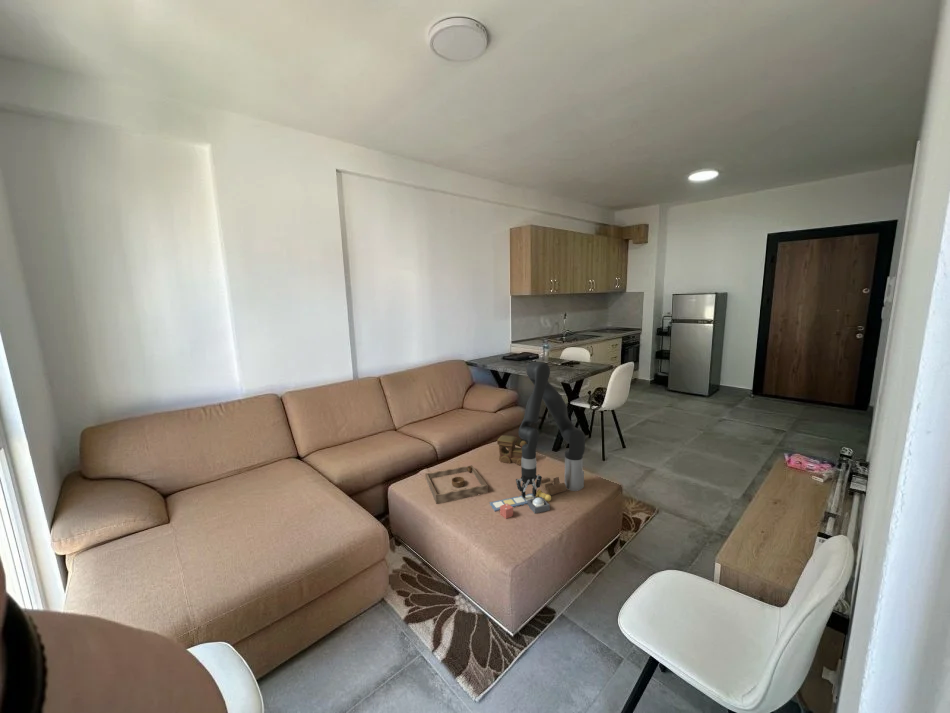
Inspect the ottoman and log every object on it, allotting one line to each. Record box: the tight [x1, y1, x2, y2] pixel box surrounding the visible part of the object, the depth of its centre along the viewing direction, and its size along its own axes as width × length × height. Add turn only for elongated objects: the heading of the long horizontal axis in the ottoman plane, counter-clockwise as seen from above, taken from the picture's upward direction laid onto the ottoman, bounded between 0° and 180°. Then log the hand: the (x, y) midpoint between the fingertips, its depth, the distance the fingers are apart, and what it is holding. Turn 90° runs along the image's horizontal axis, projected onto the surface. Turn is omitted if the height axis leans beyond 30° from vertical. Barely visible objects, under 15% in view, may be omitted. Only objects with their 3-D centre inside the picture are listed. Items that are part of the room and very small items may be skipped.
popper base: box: [527, 497, 551, 514], centre depth 185 cm, size 8×8×3 cm
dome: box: [533, 498, 544, 507], centre depth 185 cm, size 6×6×5 cm
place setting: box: [451, 465, 472, 491], centre depth 210 cm, size 18×20×6 cm
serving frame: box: [424, 465, 489, 505], centre depth 207 cm, size 28×26×5 cm
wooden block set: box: [540, 476, 568, 496], centre depth 201 cm, size 18×9×10 cm
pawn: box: [535, 489, 552, 502], centre depth 192 cm, size 4×4×7 cm
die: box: [499, 504, 514, 520], centre depth 180 cm, size 4×4×4 cm
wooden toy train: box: [496, 434, 528, 467], centre depth 233 cm, size 20×11×17 cm, turn 66°
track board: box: [489, 492, 536, 512], centre depth 190 cm, size 24×8×1 cm, turn 109°
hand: (528, 496), depth 193 cm, fingers open, 5 cm apart
